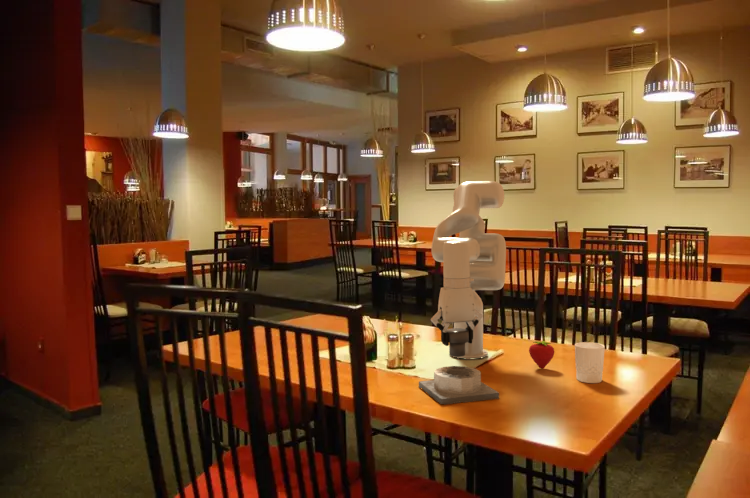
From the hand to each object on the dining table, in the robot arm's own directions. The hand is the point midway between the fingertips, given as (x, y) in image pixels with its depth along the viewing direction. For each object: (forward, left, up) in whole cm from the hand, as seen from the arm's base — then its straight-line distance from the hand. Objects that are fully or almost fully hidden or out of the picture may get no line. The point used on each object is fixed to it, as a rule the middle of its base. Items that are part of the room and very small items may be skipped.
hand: (457, 343), depth 174 cm
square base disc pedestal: (+15, -7, -10) cm, 19 cm away
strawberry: (+1, +27, -10) cm, 29 cm away
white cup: (+16, +33, -10) cm, 38 cm away
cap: (0, 0, -3) cm, 3 cm away
